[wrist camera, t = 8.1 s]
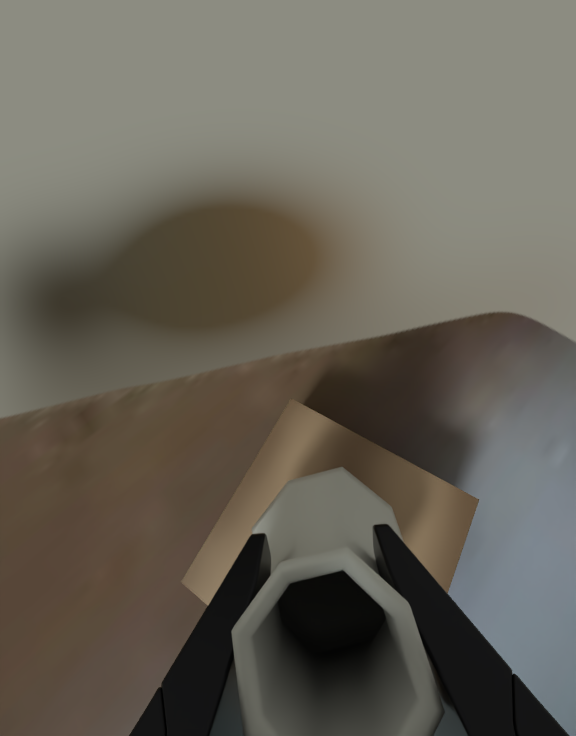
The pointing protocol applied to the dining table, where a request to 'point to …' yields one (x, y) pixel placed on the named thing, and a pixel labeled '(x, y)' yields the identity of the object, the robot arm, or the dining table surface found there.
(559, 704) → the dining table surface
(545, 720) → the robot arm
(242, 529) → the light brown square board
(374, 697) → the flask
